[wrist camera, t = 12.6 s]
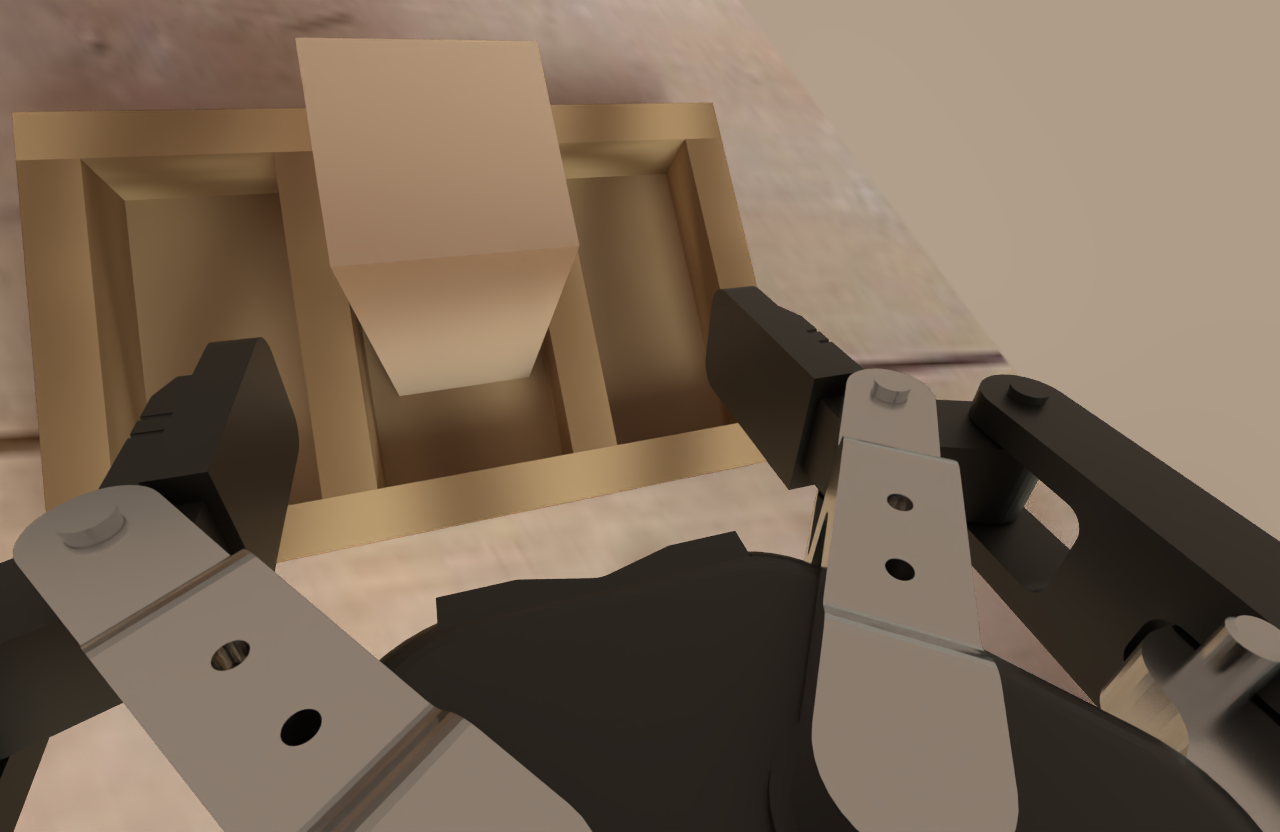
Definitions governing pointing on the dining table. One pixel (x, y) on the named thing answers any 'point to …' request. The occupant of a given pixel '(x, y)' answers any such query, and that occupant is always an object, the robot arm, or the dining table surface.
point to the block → (441, 201)
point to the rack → (333, 336)
